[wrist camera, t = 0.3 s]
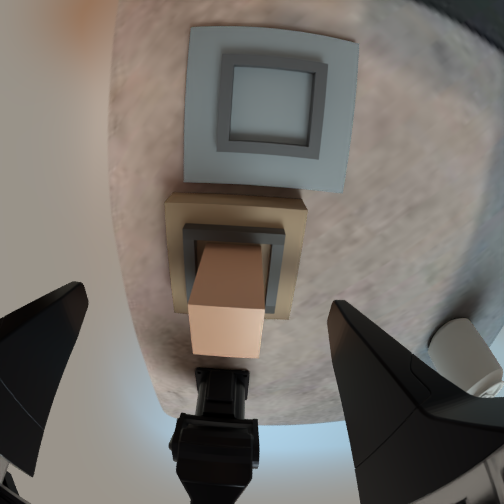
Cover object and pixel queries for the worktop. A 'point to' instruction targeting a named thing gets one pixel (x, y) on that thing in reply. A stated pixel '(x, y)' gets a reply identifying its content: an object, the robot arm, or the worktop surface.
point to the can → (466, 359)
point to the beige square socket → (236, 241)
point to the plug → (228, 302)
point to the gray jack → (269, 107)
